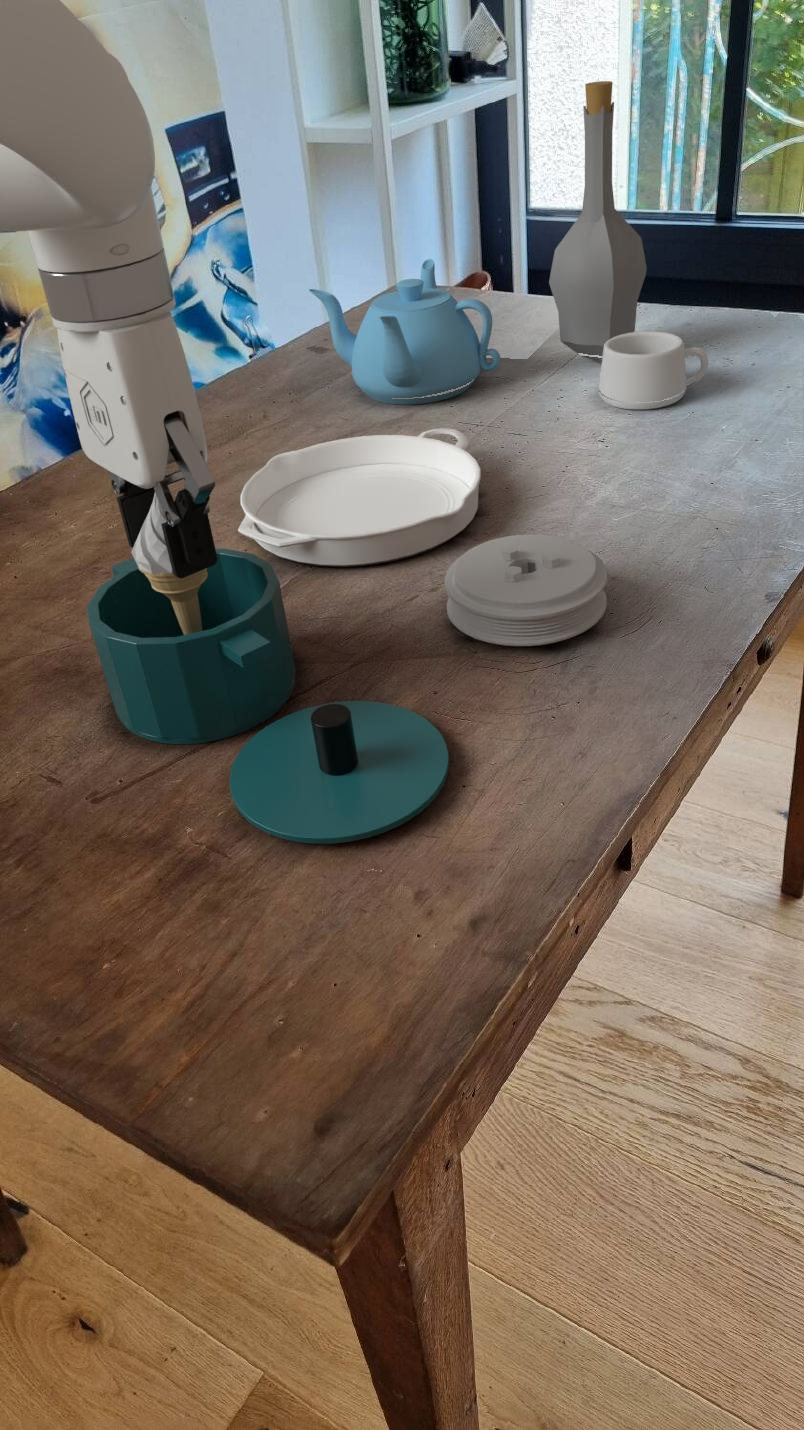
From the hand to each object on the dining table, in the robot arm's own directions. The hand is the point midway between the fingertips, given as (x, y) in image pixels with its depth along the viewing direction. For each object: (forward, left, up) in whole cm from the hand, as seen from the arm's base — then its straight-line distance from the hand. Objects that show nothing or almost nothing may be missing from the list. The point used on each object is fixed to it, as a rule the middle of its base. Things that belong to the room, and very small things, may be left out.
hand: (172, 553), depth 77 cm
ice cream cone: (0, 0, -10) cm, 10 cm away
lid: (+24, -10, -12) cm, 29 cm away
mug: (+67, +14, -12) cm, 70 cm away
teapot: (+53, +40, -12) cm, 68 cm away
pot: (0, 0, -12) cm, 12 cm away
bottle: (+72, +27, -12) cm, 78 cm away
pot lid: (+1, -16, -11) cm, 19 cm away
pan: (+27, +15, -12) cm, 33 cm away
